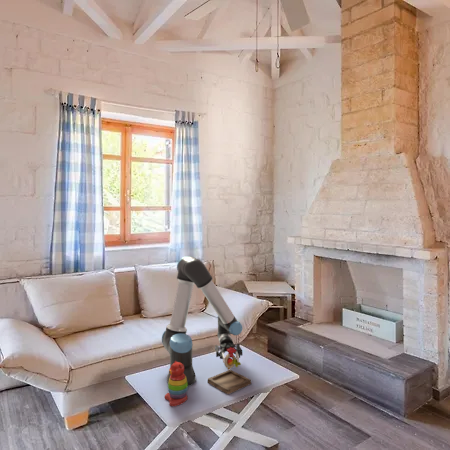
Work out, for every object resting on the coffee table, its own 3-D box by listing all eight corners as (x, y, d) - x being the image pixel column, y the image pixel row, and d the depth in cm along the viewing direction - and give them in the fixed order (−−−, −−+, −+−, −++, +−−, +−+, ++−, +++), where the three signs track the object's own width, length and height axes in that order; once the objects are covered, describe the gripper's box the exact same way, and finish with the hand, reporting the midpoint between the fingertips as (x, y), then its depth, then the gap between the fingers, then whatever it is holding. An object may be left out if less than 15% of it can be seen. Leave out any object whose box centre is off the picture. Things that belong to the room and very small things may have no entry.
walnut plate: (207, 382, 190) (207, 378, 190) (230, 373, 200) (230, 369, 200) (228, 394, 178) (228, 390, 178) (251, 383, 188) (251, 379, 188)
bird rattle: (233, 375, 185) (244, 363, 191) (226, 358, 181) (238, 346, 187) (224, 371, 190) (235, 359, 195) (218, 355, 186) (229, 343, 192)
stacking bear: (163, 396, 176) (163, 360, 175) (183, 391, 181) (182, 356, 180) (171, 407, 167) (170, 369, 166) (191, 401, 171) (191, 365, 170)
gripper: (243, 348, 208) (250, 365, 185) (209, 350, 206) (212, 368, 183) (243, 335, 207) (250, 351, 184) (208, 337, 205) (211, 353, 182)
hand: (231, 359), depth 184 cm, fingers closed on bird rattle, 7 cm apart
